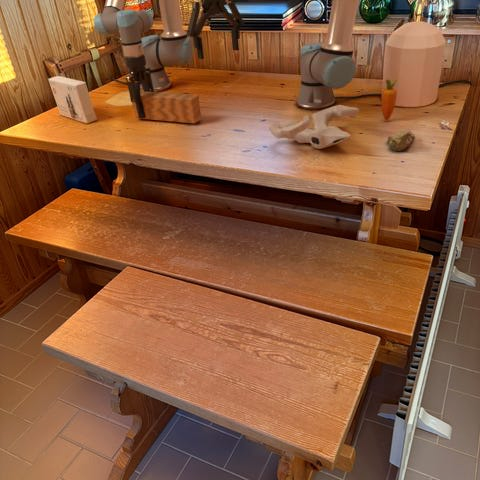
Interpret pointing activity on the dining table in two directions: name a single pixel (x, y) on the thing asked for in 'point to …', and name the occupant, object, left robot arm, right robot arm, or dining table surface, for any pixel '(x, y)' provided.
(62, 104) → the skincare box
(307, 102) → the right robot arm
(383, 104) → the carrot
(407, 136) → the rock
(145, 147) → the dining table surface
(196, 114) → the bar
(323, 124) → the cream branched piece
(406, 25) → the container
